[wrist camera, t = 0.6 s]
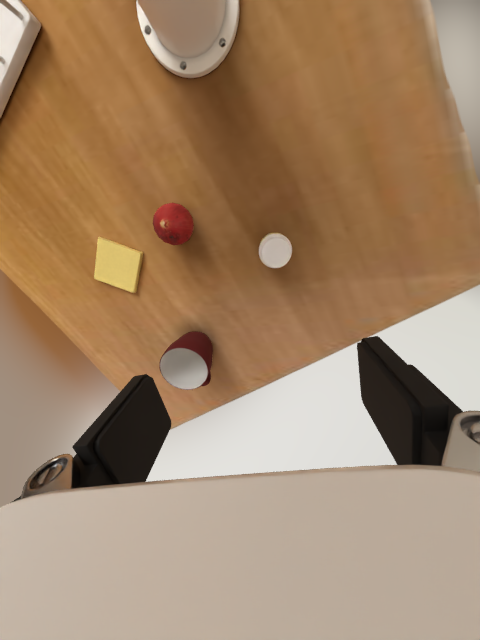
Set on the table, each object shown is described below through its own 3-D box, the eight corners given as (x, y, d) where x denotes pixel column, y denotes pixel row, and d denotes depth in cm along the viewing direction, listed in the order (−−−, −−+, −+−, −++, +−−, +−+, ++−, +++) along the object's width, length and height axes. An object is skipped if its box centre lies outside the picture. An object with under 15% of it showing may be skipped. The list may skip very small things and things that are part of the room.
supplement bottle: (287, 262, 40) (293, 271, 32) (259, 262, 40) (258, 271, 32) (288, 231, 38) (295, 233, 30) (259, 232, 38) (258, 234, 31)
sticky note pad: (97, 277, 44) (93, 278, 43) (101, 236, 41) (97, 237, 40) (136, 291, 44) (133, 293, 43) (143, 252, 41) (140, 253, 40)
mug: (233, 358, 48) (225, 390, 39) (200, 373, 50) (185, 407, 41) (205, 315, 45) (190, 339, 36) (171, 332, 47) (149, 359, 38)
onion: (201, 240, 40) (187, 244, 32) (169, 245, 40) (148, 249, 33) (195, 202, 38) (178, 197, 30) (160, 207, 38) (136, 204, 31)
